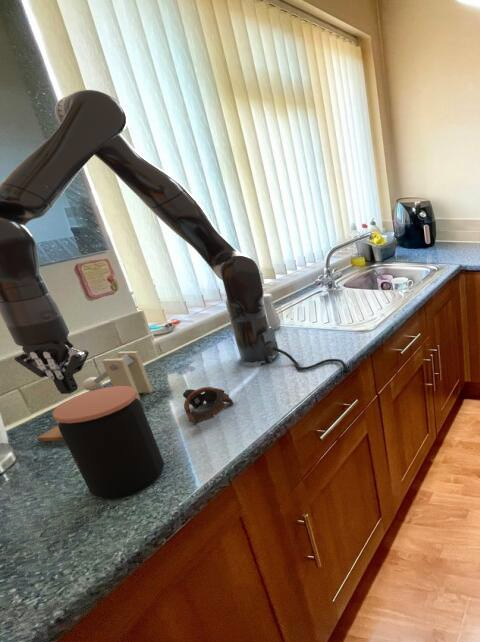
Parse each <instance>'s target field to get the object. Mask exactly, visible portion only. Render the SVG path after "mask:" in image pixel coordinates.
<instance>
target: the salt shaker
mask: <svg viewBox="0 0 480 642" xmlns="http://www.w3.org/2000/svg"><path fill="white" fill-rule="evenodd" d="M273 300H274V296H273V294H271V293H264V297H263V302H264V306H265V310H266V315H267V319H268V323H269V327H273V331H275V330H278V329H279V328H280V326H281V323H282V322H281V319H280V316H279V313H278V312H277V310H276V307H275V305H274V303H273Z"/></svg>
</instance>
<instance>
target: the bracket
mask: <svg viewBox="0 0 480 642" xmlns="http://www.w3.org/2000/svg"><path fill="white" fill-rule="evenodd" d="M125 354H127V355H128V356H129V357H131V358H132V359H133V360H134V362H133V363H131V364H130V365H128V366H127V363H126V361H125V358H120V357H122V356H123V355H125ZM116 356H117V358H105V359H102V360H101V362H102V364H103V367H104V369H105V372H106V371H107V374H108V376H107V377H108V378H109V381H110V383H111V385H112V386H111V387H113V386H130V387H133V388H134V389H135V390H136V393H137V396H136V398H137V399H138V400H139V401H141V396H140V394H150V393H152V392H153V390H154V389H153V387H152V385H151V382H150V379H149V377H148V374H147V371H146V369H145V366H144V363H143V361H142V359H141V356H140V354H139V351H138V350H130V351H129V350H127V351H121V350H120V351H118V352H116ZM118 358H120V359H118Z"/></svg>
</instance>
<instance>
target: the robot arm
mask: <svg viewBox="0 0 480 642" xmlns="http://www.w3.org/2000/svg"><path fill="white" fill-rule="evenodd" d="M54 114H55V118H56V119H57V121H58V123H59V126H57V128H56V130H55V131H54V132H53V133H52V134H51V135H50V136H49V137H48V138H47V139H46V140H45V141H44V142H43V143H41V145H39V146H38V147H37V148H36V149H35V150H33V151H32V152H31V153H30V154H29V155H28V156H26V157H25V158H24V159H23V160H22V161H21V162H20V163H18V164H17V166H16V167H15V168H13V170H12V171H11V172H10V173H9V174H8V175H7V176H6V178H5V179H4V180H2V182H1V183H0V316H1V318H2V320H3V322H4V324H5V326H6V328H7V330H8V332H9V334H10V336H11V338H12V340H13V342H14V344H15V345H16V346H19V347H21V349H22V353H20V354H19V355H17V356H14V358H13V359H14V361H16V362H17V363H19V364H20V365H21V366H22V367H24V368H26V369H27V370H29V371H30V372H31V373H32V374H35V375H36V376H38V377H39V378H45V377H47V378H48V379H49V380H51V381H52V382H53V383H54V385H55V388H56V389H57V391H58V392H59V393H60V394H61V395H70V394H72V393H74V392H76V391H77V390H78V383H77V382H76V379H75V377H74V375H76V374H77V373H79V372H81V371H82V370H83V367H84V365H85V363H86V360H87V359H88V356H89V354H90V353H89V351H88V350H87V349H83V350H78V349H77V348H75V347H74V344H73V342H71V341H70V340H69V339H68V336H69V334H70V330H69V328H68V326H67V324H66V321H65V318H64V316H63V315H62V313H61V311H60V308H59V306H58V303H57V302H56V300H55V299H54V297H53V296H52V294H51V293H50V290H49V288H48V286H47V284H46V282H45V280H44V279H45V278H43V275H42V274H41V270H40V266H41V265H40V257H39V251H38V246H37V243H36V240H35V237H34V235H33V234H32V232H31V231H30V229H28V227H27V226H26V225H27V224H28V223H29V222H31V221H33V220H35V219H40V218H42V217H44V216H45V215H47V214H48V213H49V212H50V211H51V209H52V208H53V207H54V205H55V204H56V203H57V202H58V201H59V199H60V198H61V196H62V195H63V194H64V192H65V191H66V190H67V189H68V187H70V185H71V184H72V182H73V180H74V179H76V177H77V176H78V174H79V173H80V172H81V170H83V168H84V167H85V166H86V164H87V163H88V162H89V161H90V160H91V159H92V158H94V156H95V157H96V158H97V159H98V160H99V161H101V162H102V163H103V164H105V166H107V168H108V169H110V171H112V172H113V173H114V174H115V175H116V176H117V177H118V178H119V179H120V181H122V182H123V183H124V185H126V186H127V187H128V188H129V189H130V190H131V191H132V192H133V193H134V194H135V196H137V197H138V198H139V199H140V200H141V202H142V203H143V204H145V206H146V207H147V208H149V210H150V211H152V213H153V214H154V215H155V216H156V217H158V218H159V220H160V221H162V222H163V223H164V224H165V225H166V226H167V227H168V228H169V229H170V230H172V231H173V232H174V233H175V234H176V235H177V236H179V237H180V238H181V239H182V240H184V242H186V243H187V244H188V245H190V246H191V247H192V248H193V249H194V250H195V251H196V252H197V253H198V255H200V257H201V258H202V259H203V260H204V261H205V262H206V264H207V265H208V266H209V268H210V269H211V270H212V272H213V273H214V274H215V276H216V277H217V278H218V279H219V280H221V282H222V283H223V287H224V291H225V292H224V293H225V295H226V300H225V307H226V310H227V314H228V317H229V321H230V326H231V328H232V332H233V335H234V339H235V344H236V347H237V350H238V354H239V358H240V361H241V362H242V363H248V364H253V363H254V364H255V363H260V362H262V363H260V365H264V364H271V363H272V362H273V361H274V360H275V359H276V358H277V357H278V356H279V355H280V354H282V355H284V356H285V357H287V358H288V360H290V361H291V362H292V363H293V365H295V368H296V369H297V370H299V371H307V370H312V369H314V368H316V367H318V366H320V365H323V364H327V363H331V362H332V363H333V362H336V363H340V364H341V365H342V367H343V368H344V370H345V371H346V372H347V373H352V371H351V369H350V368H349V366H348V365H347V364H346V363H345V362H344V360H342V359H341V358H328V359H323V360H321V361H319V362H316V363H314V364H312V365H308V366H300V364H299V363H298V361H297V360H296V359H295V358H294V357H293V356H292V355H291V354H289V353H288V352H286V351H285V350H283V349H280V348H279V347H278V346H279V345H278V343H277V340H276V336H275V330H273V327H269V323H268V319H267V315H266V310H265V306H264V302H263V297H264V294H265V293H264V287H263V281H262V277H261V272H260V269H259V266H258V264H257V263H256V261H255V260H254V259H253V258H251V257H250V256H248V255H245V254H243V253H241V252H240V251H239V250H237V249H236V247H234V246H232V244H230V243H229V241H228V240H226V238H225V237H223V236H222V235H221V234H220V232H219V231H218V230H217V228H216V227H215V225H214V224H213V222H212V220H211V219H210V217H209V216H208V214H207V212H206V211H205V210H204V208H203V207H202V205H201V204H200V202H198V200H197V199H196V198H195V197H194V196H193V195H192V193H190V192H189V190H187V188H186V187H185V186H184V185H183V184H182V183H181V182H180V181H179V180H178V179H176V178H175V177H173V176H172V175H171V174H169V173H168V172H166V171H164V170H163V169H161V168H160V167H158V166H157V165H155V164H153V163H152V162H151V161H149V160H148V159H146V158H145V157H144V156H143V155H141V154H140V153H139V152H138V151H137V150H136V149H135V148H134V147H133V146H132V145H131V144H130V142H129V141H127V140H126V139H125V138H124V136H123V135H122V133H123V132H124V131H125V130H126V129H127V125H128V116H127V113H126V111H125V109H124V108H123V106H122V105H121V104H120V102H118V101H117V100H116V99H115V98H114V97H112V96H111V95H109V94H107V93H104V92H102V91H99V90H95V89H81V90H77V91H74V92H73V93H70V94H69V95H67V96H65V97H63V98H61V99H59V100H58V101H57V102H56V104H55V106H54Z"/></svg>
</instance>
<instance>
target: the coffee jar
mask: <svg viewBox="0 0 480 642" xmlns="http://www.w3.org/2000/svg"><path fill="white" fill-rule="evenodd" d="M136 396H137V393H136V390H135V389H134V388H133V387H130V386H107V387H100V388H99V389H97V390H93V391H86V392H84V393H81V394H79V395H76V396H74V397H71V398H70V399H68V400H65V401H63V402H62V403H61V404H59V405H58V406H56V407H55V409H54V410H53V411H52V413H51V414H52V418H53V419H54V421H55V422H57V425H59V430H60V432H61V434H62V436H63V438H64V440H65V441H64V443H65V445H66V447H67V448H68V450H69V453H70V454H71V456H72V458H73V460H74V462H75V464H76V465H75V466H77V469H78V471H79V472H80V475H81V476H82V479H83V480H84V483H85V485H86V487H87V489H88V491H89V493H90V495H92V496H94V497H96V498H97V499H102V500H115V499H122V498H125V497H128V496H131V495H133V494H135V493H138V492H140V491H142V490H145V488H147V487H149V486H150V485H152V484H153V483H154V482H155V481H157V479H158V478H159V477H160V476H161V475H162V471H163V470H164V465H165V460H164V459H163V456H162V454H161V451H160V448H159V446H158V443H157V440H156V437H155V436H154V433H153V430H152V428H151V425H150V422H149V420H148V418H147V415H146V413H145V411H144V407H143V405H142V402H141V400H138V399H137V398H136ZM58 423H59V424H58Z"/></svg>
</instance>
